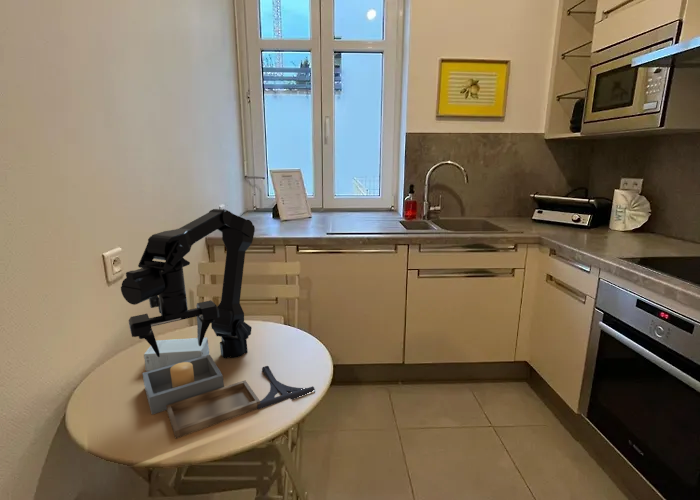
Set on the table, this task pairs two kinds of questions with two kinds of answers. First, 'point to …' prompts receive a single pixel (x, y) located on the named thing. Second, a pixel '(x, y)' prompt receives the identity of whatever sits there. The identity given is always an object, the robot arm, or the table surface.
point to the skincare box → (175, 352)
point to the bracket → (280, 390)
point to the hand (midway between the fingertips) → (179, 350)
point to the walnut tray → (211, 408)
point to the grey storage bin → (165, 394)
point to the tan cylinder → (182, 374)
